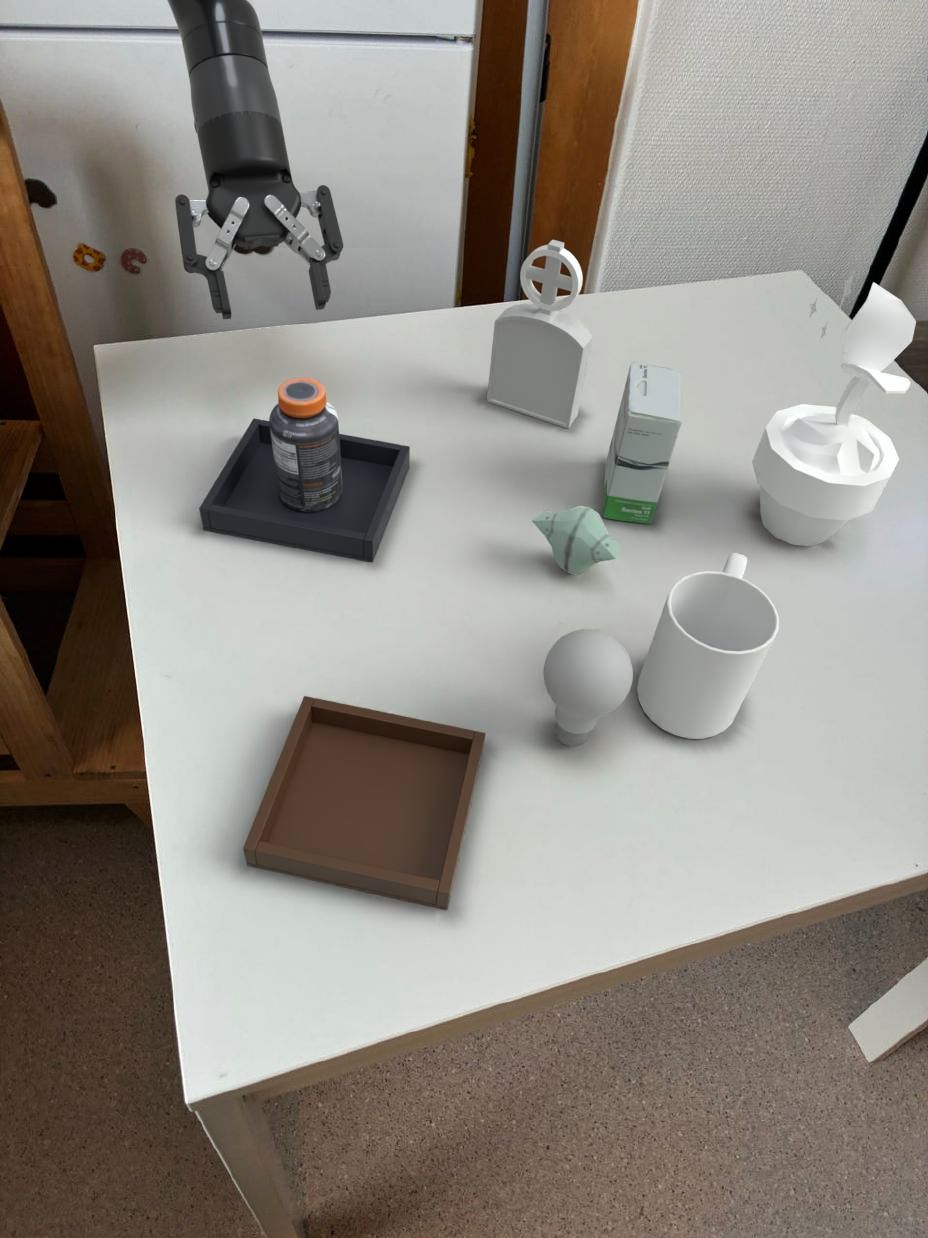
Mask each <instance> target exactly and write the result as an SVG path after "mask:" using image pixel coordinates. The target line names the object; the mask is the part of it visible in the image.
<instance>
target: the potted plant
mask: <svg viewBox="0 0 928 1238" xmlns="http://www.w3.org/2000/svg"><path fill="white" fill-rule="evenodd" d="M857 265H858V264H856V265H855V267H854V268H853V271H852V273H851V274H850V276H849V277H848V279H843V283H844V290H843V294H842V298H841V301H840V305H839V308H838V310H840V309H841V307H842V305H843V304H844V301H845V299H846V298H847V297H848V295H852V283H853V278H854V275H855V271H856V269H857ZM817 300H818V298H816V299H815V301H814V302H813V303H812V304H810V303H809V307H810V314H809V318H811V317H812V316H813V314H814V313H817V308H816V306H817ZM828 322H829V321H826V323H825V325H824V326H821V336H820V341H819V342H821V341H822V339H823V338H824V336H826V335H827V334H826V330H827V326H828V324H829V323H828ZM916 325H917V320H916V319H915V317H914V316H913V314H912V313H911V312H910V310H909V309H908V308H907V306H906V305H905V304H904V302H903V301H902V299H900V298H898V297H897V296H896V295H894V294H892V293H891V292H889V291H888V290H886V289H885V288H883V287H882V286H880V285H879V284H877V283H876V282H874V281H873V282H872V284H871V287H870V290H869V292H868V295H867V297H866V300H865V302H864V303H863V304H862V306H860V308H859V310H858V311H857V313H856V314H855V316H854V317H853V318H852V320H851V321H850V322H849V324H848V325H847V327H846V328H845V330H844V334H843V342H842V354H843V358H844V362H841V364H840V367H841V369H842V371H843V372H844V373H846V374H848V375H850V376H853V378H851V380H850V381H849V382H848V383H847V384H846V386H845V388H844V390H843V392H842V394H841V396H840V398H839V400H838V402H837V405H836V407H835V406H830V405H829V406H827V405H826V406H825V405H818V404H817V405H816V404H805V403H801V404H797V405H793V406H790V407H787V408H783V409H779V410H777V411H775V414H774V415H773V416H772V417H771V419H770V420H769V422H768V423H767V424H766V425H765V427H764V430H763V432H762V435H761V438H760V441H759V443H758V444H757V448H756V451H755V453H754V456H753V459H752V461H751V465H752V468H753V471H754V475H755V479H756V483H757V484H758V486H759V512H760V513H759V514H760V518H761V522H762V526H763V527H764V528H766V530H767V531H768V532H769V533H770V534H771V535H773V536H774V537H775V538H776V539H778V540H781V541H783V542H785V543H787V544H790V545H792V546H805V547H813V546H816V545H818V544H821V543H823V542H826V541H827V540H828V539H829V538H830V537H832V536H833V535H834V534H836V532H838V531H839V530H840V529H841V528H842V527H843V526H845V524H847V523H848V522H849V521H851V520H852V519H855V518H858V517H860V516H863V515H866V514H869V513H872V512H873V510H874V508H875V507H876V505H877V503H878V501H879V499H880V498H881V495H882V493H883V491H884V489H885V488H886V486H887V484H888V483H889V480H890V479H891V477H892V475H893V473H894V470H895V469H896V467H897V465H898V463H899V461H900V457H899V455H898V452H897V450H896V449H895V446H894V444H893V441H892V439H891V437H889V436H888V435H887V434H886V433H885V432H883V431H882V430H881V429H880V428H878V427H877V426H876V425H875V424H873V423H872V422H871V421H869V420H868V419H866V418H864V417H863V416H859V415H857V414H854V413H853V412H854V410H855V409H856V407H857V405H858V403H859V401H860V400H861V398H862V396H863V395H864V393H865V391H866V389H867V388H868V386H869V384H872V385H875V386H876V387H877V388H878V389H880V390H881V391H882V393H883V394H887V395H889V394H893V395H894V394H903V395H904V394H906V392H907V391H908V389H909V388H910V386H911V385H912V382H911V381H910V380H909V378H908V377H905V376H904V377H903V376H900V375H895V374H890V373H887V372H882V371H884V369H886V368H887V367H888V366H889V365H891V364H892V362H894V360H895V359H896V358H897V357H898V356H899V355H900V354H901V353H902V352H903V351H904V350H905V349H906V348H907V347H908V346H910V344H911V343H912V342H913V338H914V335H915V329H916Z"/></svg>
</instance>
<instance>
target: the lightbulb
mask: <svg viewBox="0 0 928 1238" xmlns="http://www.w3.org/2000/svg"><path fill="white" fill-rule="evenodd" d="M542 671H543V672H542V674H543V680H544V681H543V682H544V686H545V689H546V691H547V694H548V695H549V697H550V699H551V700H552V702H553V703H554V704H555V705H554V707H555V709H554V717H555V726H554V733H555V736H556V738H557V740H558V741H559V742H560V743H562V744H564V745H566V746H568V747H569V746H570V747H579V746H581V745H583V744H585V742H586V741H587V740H588V738H589V735H590V733H591V731H592V730H593V729H594V728H595V727H596V724H597V723H598V721H599V719H600V718H601V717H603V716H606V715H607V714H609V713H611V712H614V710H616V709H617V708H619V706H620V705H621V704H622V703H623V702H624V701H625V699H626V698H627V697H628V695H629V693H630V691H631V689H632V685H633V676H634V675H633V672H634V667H633V665H632V660H631V657H630V655H629V653H628V651H627V650H626V648H625V647H624V646H623V644H622V643H621V642H620V641H619V640H618V639H617V638H616V637H614V636H612V635H611V634H609V633H607V632H605V631H601V630H599V629H593V628H585V629H577V630H574V631H571V632H568V633H566V634H564V635H563V636H561V637H560V638H559V639H558V640H557V641H555V643H554V644H553V645H552V646H551V648H550V649H549V651H548V652H547V654H546V657H545V660H544V663H543V670H542Z"/></svg>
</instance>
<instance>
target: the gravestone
mask: <svg viewBox="0 0 928 1238" xmlns="http://www.w3.org/2000/svg"><path fill="white" fill-rule="evenodd" d="M541 257H546V258H545V264H544V268H542V267H538V266H534V265H532V264H533V262H534V261H535V260H536V259H538V258H541ZM562 263H563V265H565V266H566V268H567V269H568V271H569V273H570V276H568V275H565V274H562V273H561V269H562ZM519 272H520V273H519V274H520V275H519V276H520V277H519V279H520V280H519V281H520V286H521V288H522V291H523V292H524V294H525V296H526V297H527V299H528V300H529V301H530V302H531V303H520V304H519V303H518V304H515V305H512V306H509V307H507V308H505V309H504V310H503V312H502V313H501V314H500V315H499V316H498V317H497V318H496V319H495V320H494V325H493V334H492V335H493V337H492V345H491V354H490V355H491V356H490V364H489V365H490V366H489V375H488V385H487V386H488V387H487V394H486V395H487V396H486V402H488V403H490V404H494V405H497V406H500V407H501V408H505V409H509V410H511V411H515V412H517V413H520V414H523V415H527V416H528V417H529V416H530V417H532V418H535V419H539V420H541V421H544V422H548V423H550V424H553V425H557V426H560V427H562V428H564V429H570V427H571V426H572V425H573V423H574V422H575V420H576V419H577V417H578V416H579V411H580V406H581V400H582V396H583V390H584V386H585V380H586V376H587V370H588V364H589V359H590V356H591V349H592V345H593V344H592V343H593V338H594V335H593V334H592V333H591V331H590V330H589V329H588V328H587V327H586V325H585V324H583V323H582V322H581V321H580V320H579V319H577V318H575V317H574V316H572V315H570V314H568V313H566V312H564V311H561V310H564V309H566V308H568V307H569V306H570V305H571V304H572V303H573V302H574V301H575V299H576V298H577V297H578V295H580V293H581V290H582V287H583V282H584V281H583V279H584V278H583V270H582V267H581V265H580V263H579V261H578V260H577V258H576V257H575V256H574V255H573V254H572V252H570V251H569V250H567V249H566V248H565V242H563V241H560V240H555V239H552V240H550V241H549V243H548V244H545V245H541V246H539V247H537V248H535V249H534V250H533V251H532V252H531V253H530V254H529V255H528V256H527V257H526V259H525V260H524V261H523V262H522V265H521V267H520V271H519ZM533 281H534V282H537V283H540V284H541V283H542V286H541V293H540V292H539V291H538V290H537V288H536V287H535V285H534V283H533ZM559 289H561V290H565V291H567V292H570V294H569V295H568V296H567V297H565V298H561V299H557V295H558V290H559Z"/></svg>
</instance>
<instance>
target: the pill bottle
mask: <svg viewBox="0 0 928 1238" xmlns="http://www.w3.org/2000/svg"><path fill="white" fill-rule="evenodd" d="M277 401H278V402H277V403H276V404H275V406H274V407H273V408H272V409H271V412H270V414H269V420H268V421H269V422H270V431H271V439H272V447H273V455H274V463H275V471H276V479H277V489H278V494H279V497H280V499H281V500H282V502H283V503H284V504H286V505H287V506H289V507H291V508H293V509H295V510H299V511H306V512H312V511H319V510H323V509H326V508H328V507H330V506H332V505H333V504H334V503H336V502H337V501H338V499H339V498H340V496H341V494H342V474H341V456H340V440H339V438H340V437H339V434H340V423H339V422H340V421H339V415H338V412H337V410H336V409H335V407H334V405H332V404H331V403H330V402H329V401H328V400H327V392H326V387H325V386H324V385H323V383H321V382H320V381H318V380H317V379H315V378H311V377H296V378H295V377H294V378H291V379H289V380H286V381H284V382H282V383H281V385H279V386H278V389H277Z"/></svg>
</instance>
